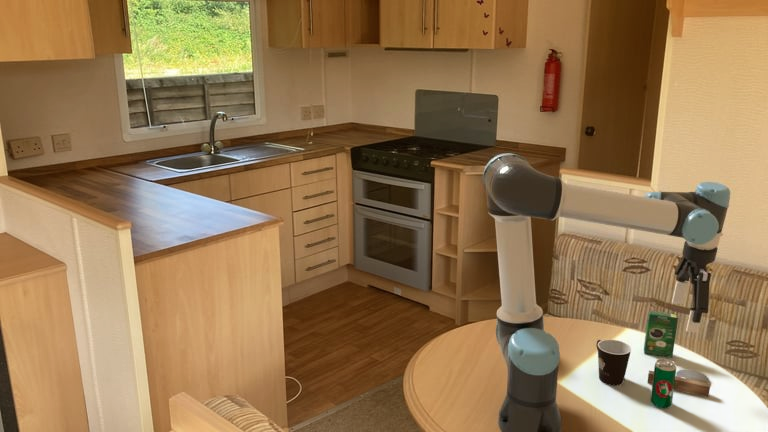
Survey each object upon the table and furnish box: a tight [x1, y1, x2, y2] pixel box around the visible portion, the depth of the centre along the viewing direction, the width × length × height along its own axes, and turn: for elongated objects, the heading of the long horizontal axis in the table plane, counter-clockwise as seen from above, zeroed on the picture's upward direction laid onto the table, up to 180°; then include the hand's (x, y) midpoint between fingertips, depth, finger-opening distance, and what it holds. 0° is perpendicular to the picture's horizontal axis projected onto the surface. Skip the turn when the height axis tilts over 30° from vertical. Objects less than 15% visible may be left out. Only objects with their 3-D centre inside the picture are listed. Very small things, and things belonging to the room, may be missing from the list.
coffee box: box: [643, 310, 679, 358], centre depth 188 cm, size 8×3×13 cm, turn 70°
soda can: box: [650, 357, 677, 410], centre depth 163 cm, size 5×5×12 cm
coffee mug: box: [596, 338, 632, 387], centre depth 177 cm, size 12×9×10 cm
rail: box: [647, 370, 711, 398], centre depth 171 cm, size 15×2×3 cm, turn 61°
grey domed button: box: [676, 368, 710, 384], centre depth 176 cm, size 8×8×1 cm
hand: (684, 316), depth 167 cm, fingers open, 13 cm apart
